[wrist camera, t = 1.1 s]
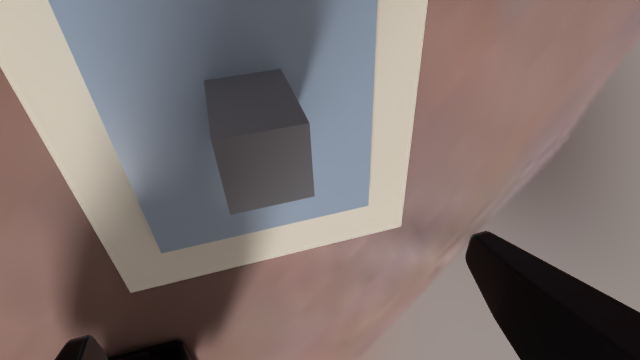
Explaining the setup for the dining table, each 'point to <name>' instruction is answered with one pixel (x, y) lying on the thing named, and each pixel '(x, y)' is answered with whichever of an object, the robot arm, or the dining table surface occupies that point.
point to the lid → (231, 107)
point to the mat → (114, 187)
